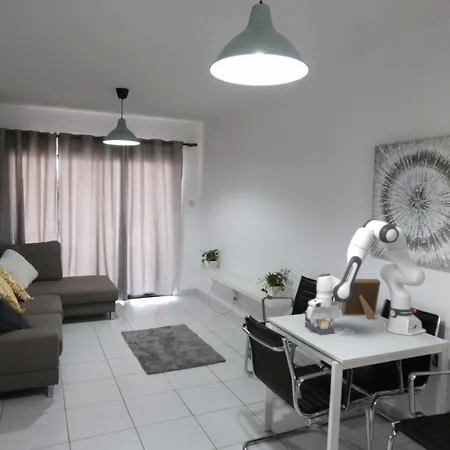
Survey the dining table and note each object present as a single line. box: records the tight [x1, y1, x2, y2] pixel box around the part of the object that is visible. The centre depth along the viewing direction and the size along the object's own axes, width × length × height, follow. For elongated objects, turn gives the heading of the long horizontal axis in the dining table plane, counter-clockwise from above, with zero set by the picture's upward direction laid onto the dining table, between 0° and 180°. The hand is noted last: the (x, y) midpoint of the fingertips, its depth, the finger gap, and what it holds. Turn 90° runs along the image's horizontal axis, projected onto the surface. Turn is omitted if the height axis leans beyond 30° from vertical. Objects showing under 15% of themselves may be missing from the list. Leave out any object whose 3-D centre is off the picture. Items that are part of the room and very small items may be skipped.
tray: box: [333, 326, 356, 337], centre depth 240 cm, size 10×10×2 cm
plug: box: [318, 319, 330, 329], centre depth 239 cm, size 4×4×7 cm
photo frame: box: [340, 278, 381, 321], centre depth 275 cm, size 15×22×25 cm
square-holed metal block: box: [304, 321, 335, 336], centre depth 243 cm, size 16×9×4 cm, turn 21°
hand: (323, 326), depth 239 cm, fingers open, 8 cm apart
